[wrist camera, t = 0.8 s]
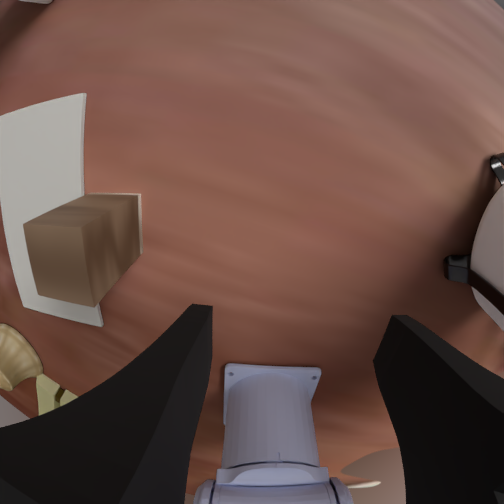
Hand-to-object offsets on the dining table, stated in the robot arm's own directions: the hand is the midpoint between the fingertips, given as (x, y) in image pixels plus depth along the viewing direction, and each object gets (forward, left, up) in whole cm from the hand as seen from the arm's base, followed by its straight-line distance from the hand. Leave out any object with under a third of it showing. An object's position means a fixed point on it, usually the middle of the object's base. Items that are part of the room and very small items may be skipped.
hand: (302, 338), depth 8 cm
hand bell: (-17, +29, -10) cm, 35 cm away
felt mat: (0, +18, -10) cm, 21 cm away
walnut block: (0, +11, -10) cm, 15 cm away
